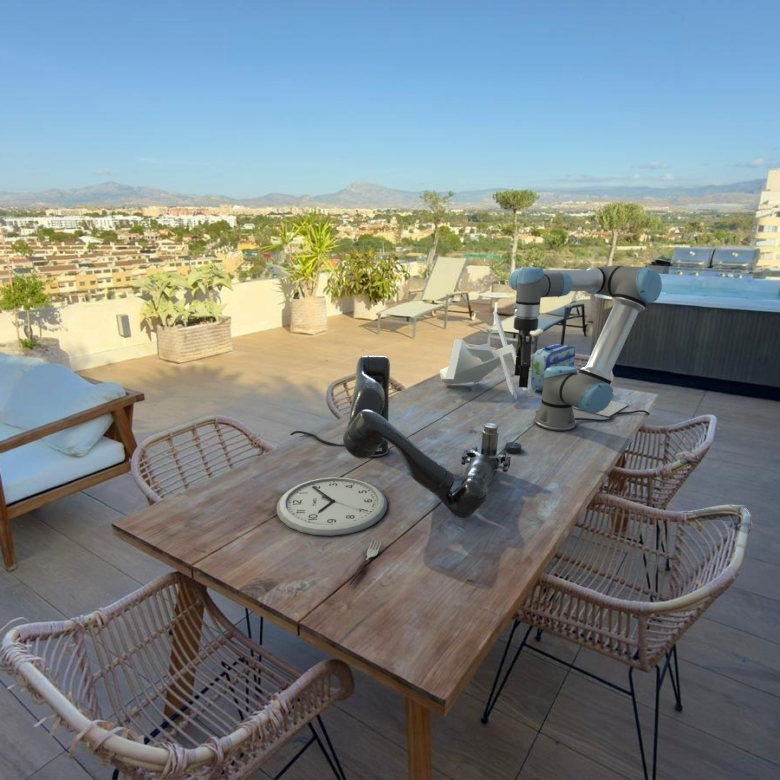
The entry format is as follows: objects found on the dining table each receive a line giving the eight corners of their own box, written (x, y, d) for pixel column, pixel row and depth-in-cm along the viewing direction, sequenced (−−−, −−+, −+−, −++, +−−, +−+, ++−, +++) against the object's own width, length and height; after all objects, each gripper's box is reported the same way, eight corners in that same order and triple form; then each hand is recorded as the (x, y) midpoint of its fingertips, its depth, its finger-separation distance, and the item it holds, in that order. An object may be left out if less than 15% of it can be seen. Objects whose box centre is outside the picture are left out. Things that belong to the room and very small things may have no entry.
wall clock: (392, 527, 129) (268, 531, 127) (391, 533, 130) (269, 537, 127) (383, 473, 158) (282, 475, 155) (383, 478, 158) (282, 480, 156)
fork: (344, 585, 111) (344, 577, 110) (372, 544, 125) (372, 537, 125) (355, 588, 110) (355, 580, 109) (382, 546, 124) (382, 539, 124)
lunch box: (547, 396, 238) (552, 351, 232) (526, 391, 246) (531, 347, 239) (574, 385, 256) (579, 343, 250) (554, 380, 263) (559, 340, 257)
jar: (479, 473, 163) (482, 427, 158) (479, 466, 167) (483, 422, 163) (495, 475, 162) (499, 429, 157) (495, 468, 167) (499, 423, 162)
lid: (516, 447, 183) (516, 441, 182) (523, 453, 178) (524, 447, 178) (502, 448, 182) (502, 442, 181) (509, 454, 177) (510, 448, 176)
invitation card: (608, 416, 214) (573, 407, 224) (608, 416, 214) (573, 408, 224) (628, 404, 229) (594, 396, 238) (628, 405, 229) (594, 397, 238)
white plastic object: (461, 429, 252) (437, 405, 227) (444, 352, 274) (420, 323, 250) (535, 404, 240) (518, 377, 215) (510, 326, 262) (492, 293, 237)
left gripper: (454, 480, 153) (466, 458, 167) (503, 489, 148) (511, 466, 163) (456, 456, 151) (468, 436, 165) (506, 465, 146) (513, 443, 161)
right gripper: (511, 310, 178) (506, 370, 185) (518, 323, 155) (512, 391, 161) (533, 311, 178) (527, 371, 184) (544, 324, 154) (537, 393, 160)
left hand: (489, 451), depth 164 cm, fingers open, 8 cm apart
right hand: (520, 381), depth 173 cm, fingers open, 13 cm apart
